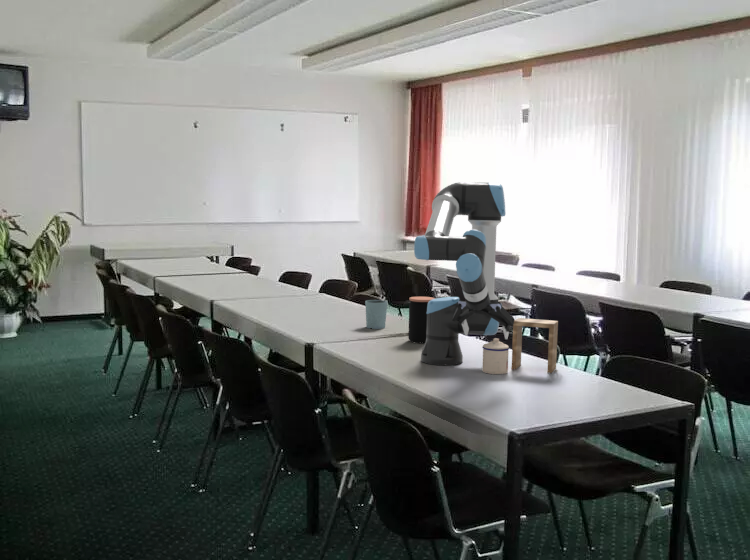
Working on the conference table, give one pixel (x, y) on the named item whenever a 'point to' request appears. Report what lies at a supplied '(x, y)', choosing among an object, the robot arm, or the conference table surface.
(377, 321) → the light blue cup
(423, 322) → the coffee jar
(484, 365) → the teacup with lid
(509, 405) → the conference table surface
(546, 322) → the wooden arch
